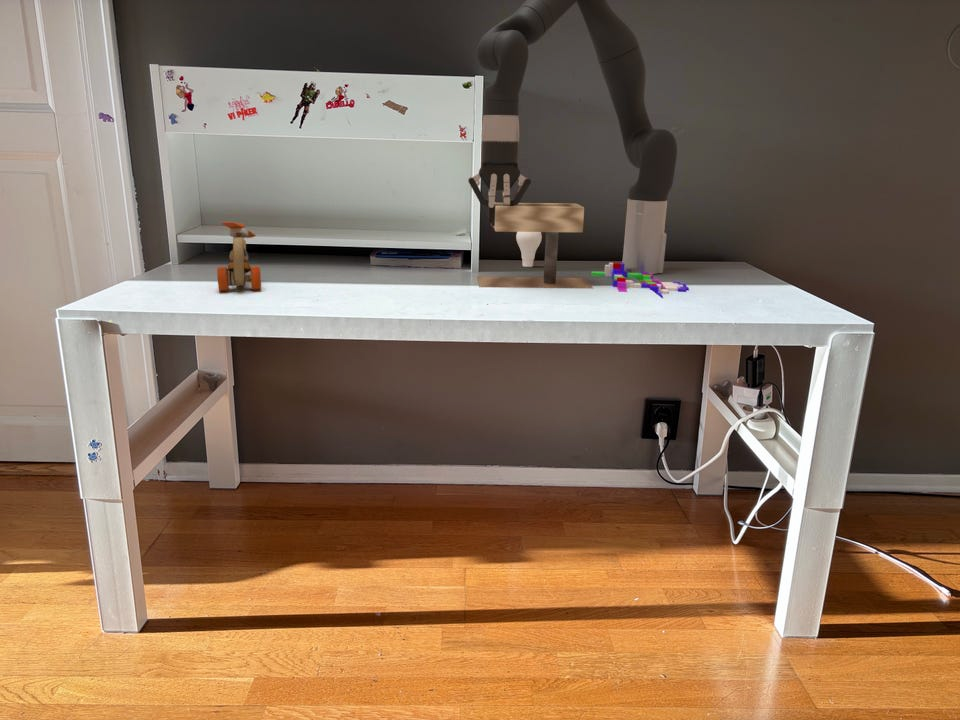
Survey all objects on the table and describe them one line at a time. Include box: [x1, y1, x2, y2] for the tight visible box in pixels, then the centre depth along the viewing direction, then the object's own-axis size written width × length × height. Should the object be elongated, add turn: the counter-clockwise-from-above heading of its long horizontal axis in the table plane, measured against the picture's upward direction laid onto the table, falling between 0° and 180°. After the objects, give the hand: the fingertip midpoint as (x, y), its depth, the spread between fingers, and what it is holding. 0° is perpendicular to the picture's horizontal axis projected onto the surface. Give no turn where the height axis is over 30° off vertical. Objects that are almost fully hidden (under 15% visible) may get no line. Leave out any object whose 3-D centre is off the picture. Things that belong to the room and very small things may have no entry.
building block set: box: [590, 262, 690, 299], centre depth 156 cm, size 25×20×4 cm
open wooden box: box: [492, 202, 585, 233], centre depth 147 cm, size 18×9×5 cm, turn 93°
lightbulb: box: [515, 232, 543, 268], centre depth 169 cm, size 6×6×11 cm
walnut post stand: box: [476, 232, 595, 290], centre depth 150 cm, size 24×11×14 cm, turn 93°
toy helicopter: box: [216, 221, 262, 292], centre depth 147 cm, size 8×21×14 cm, turn 17°
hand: (498, 225), depth 147 cm, fingers closed on open wooden box
